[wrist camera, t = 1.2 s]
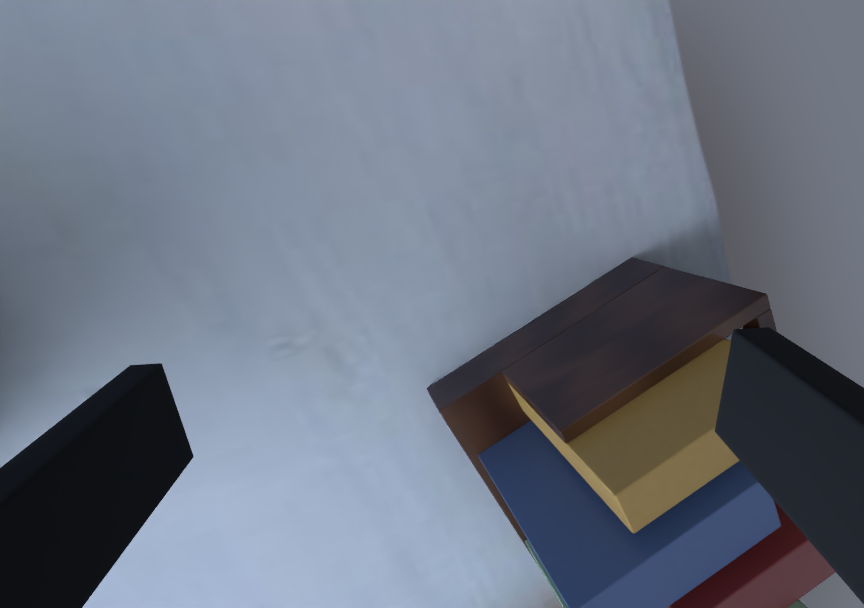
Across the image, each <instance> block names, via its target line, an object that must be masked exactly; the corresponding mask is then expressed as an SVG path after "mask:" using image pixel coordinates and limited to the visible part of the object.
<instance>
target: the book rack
mask: <svg viewBox="0 0 864 608" xmlns="http://www.w3.org/2000/svg"><path fill="white" fill-rule="evenodd" d="M741 327H743V329H748V328H765V327H770V328H771V329H773V330H774V331H776V327H775V323H774V319H773V315H772V311H771V309H770V305H769V300H768V296H767V294H765V293H761V292H757V291H754V290H749V289H746V288H742V287H739V286H735V285H731V284H728V283H724V282H720V281H717V280H713V279H709V278H705V277H702V276H698V275H694V274H691V273H687V272H683V271H679V270H676V269H672V268H668V267H664V266H662V265H658V264H654V263H651V262H647V261H643V260H640V259H636V258H630V259H629V260H627V261H626V262H624V263H623V264H621V265H619V266H618V267H616V268H615V269H613V270H612V271H610V272H608V273H607V274H605V275H604V276H602V277H601V278H599V279H598V280H596V281H594V282H593V283H591V284H590V285H588V286H587V287H585V288H583V289H582V290H580V291H579V292H577V293H576V294H574V295H572V296H571V297H569V298H568V299H566V300H565V301H563V302H561V303H560V304H558V305H557V306H555V307H554V308H552V309H550V310H549V311H547V312H546V313H544V314H543V315H541V316H540V317H538V318H536V319H535V320H533V321H532V322H530V323H529V324H527V325H525V326H524V327H522V328H521V329H519V330H518V331H516V332H514V333H513V334H511V335H510V336H508V337H507V338H505V339H503V340H502V341H500V342H499V343H497V344H496V345H494V346H493V347H491V348H489V349H488V350H486V351H485V352H483V353H482V354H480V355H478V356H477V357H475V358H474V359H472V360H471V361H469V362H467V363H466V364H464V365H463V366H461V367H460V368H458V369H456V370H455V371H453V372H452V373H450V374H449V375H447V376H446V377H444V378H442V379H441V380H439V381H438V382H436V383H435V384H433V385H431V386H430V387H428V388H427V390H428V392H429V394H430V396H431V398H432V400H433V401H434V403H435V405H436V407H437V409H438V411H439V412H440V414H441V415H442V417H443V419H444V420H445V422H446V423H447V425H448V426H449V428H450V429H451V431H452V433H453V434H454V436H455V437H456V439H457V440H458V442H459V443H460V445H461V447H462V448H463V450H464V451H465V453H466V454H467V456H468V457H469V459H470V460H471V462H472V464H473V465H474V467H475V468H476V470H477V471H478V473H479V474H480V476H481V478H482V479H483V481H484V482H485V484H486V485H487V487H488V488H489V490H490V492H491V493H492V495H493V496H494V498H495V499H496V501H497V502H498V504H499V506H500V507H501V509H502V510H503V512H504V513H505V515H506V516H507V518H508V519H509V521H510V523H511V524H512V526H513V527H514V529H515V530H516V532H517V533H518V535H519V537H520V538H521V540H522V541H523V543H524V544H525V546H526V547H527V549H528V551H529V552H530V550H529V548H528V546H527V545H526V543H525V540H526V539H527V537H526V536H525V534H524V532H523V531H522V529H521V527H520V526H519V524H518V522H517V521H516V519H515V517H514V516H513V514H512V512H511V510H510V509H509V507H508V505H507V504H506V502H505V500H504V499H503V497H502V495H501V494H500V492H499V490H498V489H497V487H496V485H495V484H494V482H493V480H492V479H491V477H490V475H489V473H488V472H487V470H486V468H485V467H484V465H483V463H482V462H481V460H480V458H479V457H478V455H479V454H480V453H482V452H483V451H485V450H486V449H488V448H489V447H491V446H492V445H494V444H495V443H497V442H498V441H500V440H502V439H503V438H505V437H506V436H508V435H509V434H511V433H512V432H514V431H515V430H517V429H518V428H520V427H521V426H523V425H524V424H526V423H527V422H529V421H530V420H531V419H530V418H529V417H528V416H527V415H526V413H525V412H524V411H523V410H522V408H521V406H520V404H519V402H518V401H517V399H516V397H515V395H514V393H513V392H512V390H511V388H510V386H509V384H510V385H511V386H512V387H513V389H514V390H515V391H516V392H517V393H518V394H519V395H520V396H521V397H522V398H523V399H524V400H525V401H526V402H527V403H528V405H529V406H530V407H531V408H532V409H533V410H534V411H535V412H536V413H537V414H538V415H539V416H540V417H541V418H542V419H543V420H544V422H545V423H546V424H547V425H548V426H549V427H550V428H551V429H552V430H553V431H554V432H555V433H556V434H557V435H558V436H559V437H560V439H561V440H562V441H563V442H564V443H566V444H567V443H569V442H570V441H572V440H573V439H575V438H576V437H578V436H579V435H581V434H582V433H584V432H585V431H587V430H588V429H590V428H591V427H593V426H594V425H596V424H597V423H599V422H600V421H602V420H603V419H605V418H606V417H608V416H609V415H611V414H612V413H614V412H615V411H617V410H618V409H620V408H621V407H623V406H624V405H626V404H627V403H629V402H630V401H632V400H633V399H635V398H636V397H638V396H639V395H641V394H642V393H644V392H645V391H647V390H648V389H650V388H651V387H653V386H654V385H656V384H657V383H659V382H660V381H662V380H663V379H665V378H666V377H668V376H669V375H671V374H672V373H674V372H675V371H677V370H678V369H680V368H681V367H683V366H684V365H686V364H687V363H689V362H690V361H692V360H693V359H695V358H696V357H698V356H699V355H701V354H702V353H704V352H705V351H707V350H708V349H710V348H711V347H713V346H714V345H716V344H717V343H719V342H720V341H722V340H723V339H725V338H726V337H728V336H729V335H731V334H732V333H733V329H740V328H741ZM776 332H777V331H776ZM508 383H509V384H508ZM530 554H531V555H532V553H531V552H530ZM532 557H533V555H532ZM533 558H534V557H533ZM534 560H535V559H534ZM535 561H536V560H535ZM536 563H537V562H536ZM537 565H538V564H537ZM538 566H539V565H538ZM539 568H540V567H539Z"/></svg>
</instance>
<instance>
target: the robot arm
mask: <svg viewBox="0 0 864 608" xmlns="http://www.w3.org/2000/svg"><path fill="white" fill-rule="evenodd" d="M715 432H716V434H717V435H718V436H719V437H720V438H721V439H722V441H723V442H724V443H725V444H726V445H727V446H728V447H729V449H730V450H731V451H732V452H733V453H734V454H735V456H736V457H737V458H738V459H739V460H740V461H741V463H742V464H743V465H744V466H745V467H746V468H747V469H748V471H749V472H750V473H751V474H752V475H753V476H754V478H755V479H756V480H757V481H758V482H759V483H760V485H761V486H762V487H763V488H764V489H765V490H766V491H767V493H768V494H769V495H770V496H771V497H772V498H773V500H774V501H775V502H776V503H777V504H778V505H779V507H780V508H781V509H782V510H783V511H784V512H785V513H786V515H787V516H788V517H789V518H790V519H791V520H792V522H793V523H794V524H795V525H796V526H797V527H798V529H799V530H800V531H801V532H802V533H803V534H804V535H805V537H806V538H807V539H808V540H809V541H810V542H811V544H812V545H813V546H814V547H815V548H816V549H817V551H818V552H819V553H820V554H821V555H822V556H823V557H824V559H825V560H826V561H827V562H828V563H829V564H830V566H831V567H832V568H833V569H834V570H835V571H836V573H837V574H838V575H839V576H840V577H841V578H842V580H844V582H845V583H846V584H847V585H848V586H849V588H850V589H851V590H852V591H853V592H854V593H855V595H856V596H857V597H858V598H859V599H860V600H861V602H862V603H863V604H864V388H863V387H861V386H860V385H858V384H857V383H855V382H854V381H852V380H850V379H849V378H847V377H846V376H844V375H843V374H841V373H840V372H838V371H836V370H835V369H833V368H832V367H830V366H829V365H827V364H826V363H824V362H823V361H821V360H819V359H818V358H816V357H815V356H813V355H812V354H810V353H808V352H807V351H805V350H804V349H802V348H801V347H799V346H798V345H796V344H795V343H793V342H791V341H790V340H788V339H787V338H785V337H784V336H782V335H780V334H779V333H777V332H776V331H774V330H773V329H771V328H770V327H765V328H748V329H733V335H732V340H731V345H730V351H729V356H728V362H727V367H726V372H725V378H724V383H723V389H722V394H721V399H720V405H719V410H718V416H717V421H716V426H715ZM193 457H194V456H193V454H192V451H191V448H190V445H189V442H188V439H187V436H186V433H185V430H184V427H183V424H182V422H181V419H180V416H179V413H178V410H177V407H176V404H175V401H174V398H173V395H172V392H171V390H170V387H169V384H168V381H167V378H166V375H165V372H164V369H163V366H162V364H145V365H130V366H129V367H128V368H126V369H125V370H124V371H123V372H121V373H120V374H119V375H118V376H116V377H115V378H114V379H113V380H111V381H110V382H109V383H107V384H106V385H105V386H104V387H102V388H101V389H100V390H99V391H97V392H96V393H95V394H94V395H92V396H91V397H90V398H88V399H87V400H86V401H85V402H83V403H82V404H81V405H80V406H78V407H77V408H76V409H75V410H73V411H72V412H71V413H69V414H68V415H67V416H66V417H64V418H63V419H62V420H61V421H59V422H58V423H57V424H56V425H54V426H53V427H52V428H50V429H49V430H48V431H47V432H45V433H44V434H43V435H42V436H40V437H39V438H38V439H37V440H35V441H34V442H33V443H31V444H30V445H29V446H28V447H26V448H25V449H24V450H23V451H21V452H20V453H19V454H18V455H16V456H15V457H14V458H12V459H11V460H10V461H9V462H7V463H6V464H5V465H4V466H2V467H1V468H0V608H82V607H83V606H84V604H85V603H86V601H87V600H88V599H89V597H90V596H91V595H92V593H93V592H94V591H95V589H96V588H97V587H98V585H99V584H100V583H101V581H102V580H103V578H104V577H105V576H106V574H107V573H108V572H109V570H110V569H111V568H112V566H113V565H114V564H115V562H116V561H117V560H118V558H119V557H120V555H121V554H122V553H123V551H124V550H125V549H126V547H127V546H128V545H129V543H130V542H131V541H132V539H133V538H134V537H135V535H136V534H137V532H138V531H139V530H140V528H141V527H142V526H143V524H144V523H145V522H146V520H147V519H148V518H149V516H150V515H151V514H152V512H153V511H154V509H155V508H156V507H157V505H158V504H159V503H160V501H161V500H162V499H163V497H164V496H165V495H166V493H167V492H168V491H169V489H170V488H171V486H172V485H173V484H174V482H175V481H176V480H177V478H178V477H179V476H180V474H181V473H182V472H183V470H184V469H185V468H186V466H187V465H188V463H189V462H190V461H191V459H192V458H193Z"/></svg>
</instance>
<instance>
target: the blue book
mask: <svg viewBox="0 0 864 608" xmlns="http://www.w3.org/2000/svg"><path fill="white" fill-rule="evenodd" d="M478 457H479V458H480V460H481V462H482V463H483V465H484V467H485V468H486V470H487V472H488V473H489V475H490V477H491V479H492V480H493V482H494V484H495V485H496V487H497V489H498V490H499V492H500V494H501V495H502V497H503V499H504V500H505V502H506V504H507V505H508V507H509V509H510V510H511V512H512V514H513V516H514V517H515V519H516V521H517V522H518V524H519V526H520V527H521V529H522V531H523V532H524V534H525V536H526V537H527V539H528V541H529V542H530V544H531V546H532V548H533V549H534V551H535V553H536V554H537V556H538V558H539V559H540V561H541V563H542V564H543V566H544V568H545V569H546V571H547V573H548V574H549V576H550V578H551V580H552V581H553V583H554V585H555V586H556V588H557V590H558V591H559V593H560V595H561V596H562V598H563V600H564V601H565V603H566V605H567V606H568V608H667V607H668V606H670V605H671V604H673V603H674V602H675V601H677V600H678V599H680V598H681V597H682V596H684V595H685V594H687V593H688V592H689V591H691V590H692V589H694V588H695V587H696V586H698V585H699V584H701V583H702V582H703V581H705V580H706V579H708V578H709V577H710V576H712V575H713V574H715V573H716V572H717V571H719V570H720V569H722V568H723V567H724V566H726V565H727V564H729V563H730V562H731V561H733V560H734V559H736V558H737V557H738V556H740V555H741V554H743V553H744V552H745V551H747V550H748V549H750V548H751V547H752V546H754V545H755V544H757V543H758V542H759V541H761V540H762V539H764V538H765V537H766V536H768V535H769V534H771V533H772V532H773V531H775V530H776V529H778V528H779V527H780V526H781V522H780V519H779V516H778V513H777V509H776V506H775V503H774V500H773V498H772V497H771V496H770V495H769V494H768V493H767V491H766V490H765V489H764V488H763V487H762V486H761V485H760V483H759V482H758V481H757V480H756V479H755V478H754V476H753V475H752V474H751V473H750V472H749V471H748V469H747V468H746V467H745V466H744V465H743V464H742V463H741V461H738V462H737V463H735V464H734V465H732V466H731V467H729V468H728V469H727V470H725V471H724V472H722V473H721V474H719V475H718V476H716V477H715V478H714V479H712V480H711V481H709V482H708V483H706V484H705V485H704V486H702V487H701V488H699V489H698V490H696V491H695V492H693V493H692V494H691V495H689V496H688V497H686V498H685V499H683V500H682V501H680V502H679V503H678V504H676V505H675V506H673V507H672V508H670V509H669V510H667V511H666V512H665V513H663V514H662V515H660V516H659V517H657V518H656V519H655V520H653V521H652V522H650V523H649V524H647V525H646V526H644V527H643V528H642V529H640V530H639V531H637V532H636V533H632V532H631V531H630V530H629V529H628V528H627V527H626V525H625V524H624V523H623V522H622V521H621V520H620V519H619V518H618V516H617V515H616V514H615V513H614V512H613V511H612V510H611V509H610V507H609V506H608V505H607V504H606V503H605V502H604V501H603V500H602V499H601V497H600V496H599V495H598V494H597V493H596V492H595V491H594V490H593V488H592V487H591V486H590V485H589V484H588V483H587V482H586V481H585V479H584V478H583V477H582V476H581V475H580V474H579V473H578V472H577V471H576V469H575V468H574V467H573V466H572V465H571V464H570V463H569V462H568V460H567V459H566V458H565V457H564V456H563V455H562V454H561V453H560V451H559V450H558V449H557V448H556V447H555V446H554V445H553V444H552V443H551V441H550V440H549V439H548V438H547V437H546V436H545V435H544V434H543V432H542V431H541V430H540V429H539V428H538V427H537V426H536V425H535V423H534V422H533V421H532V420H530V421H529V422H527V423H526V424H524V425H523V426H521V427H520V428H518V429H517V430H515V431H514V432H512V433H511V434H509V435H508V436H506V437H505V438H503V439H502V440H500V441H498V442H497V443H495V444H494V445H492V446H491V447H489V448H488V449H486V450H485V451H483V452H482V453H480V454H479V455H478Z"/></svg>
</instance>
